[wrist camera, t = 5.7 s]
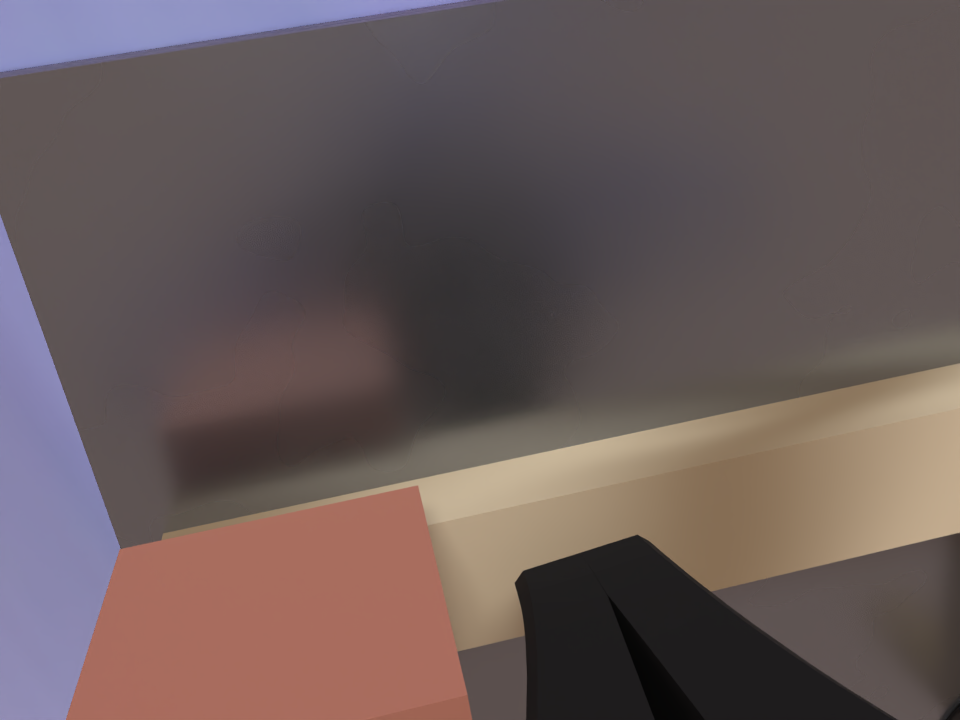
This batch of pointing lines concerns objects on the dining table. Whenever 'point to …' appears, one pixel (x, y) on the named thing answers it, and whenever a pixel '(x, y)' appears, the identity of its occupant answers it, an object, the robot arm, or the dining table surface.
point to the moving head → (280, 622)
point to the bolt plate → (502, 264)
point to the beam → (699, 495)
